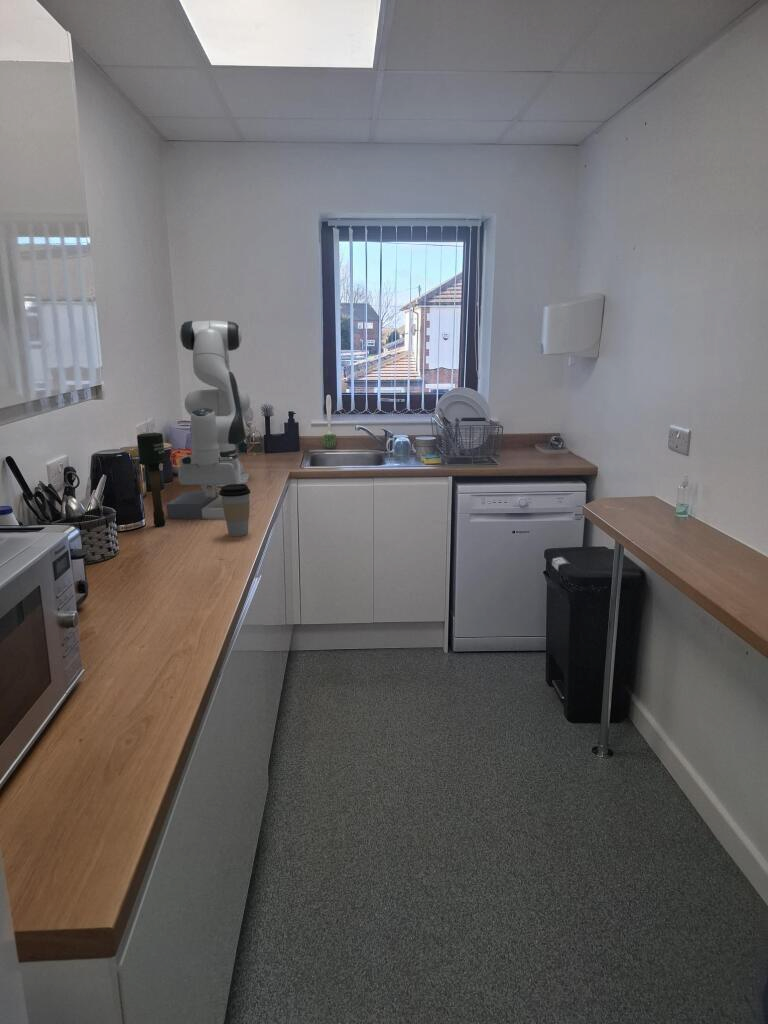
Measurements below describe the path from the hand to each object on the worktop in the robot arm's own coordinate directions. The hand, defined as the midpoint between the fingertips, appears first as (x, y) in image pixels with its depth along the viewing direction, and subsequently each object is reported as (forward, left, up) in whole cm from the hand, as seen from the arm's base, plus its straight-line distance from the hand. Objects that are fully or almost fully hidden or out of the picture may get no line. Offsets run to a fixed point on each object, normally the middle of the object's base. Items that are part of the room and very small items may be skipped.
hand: (210, 497), depth 229 cm
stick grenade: (+14, -13, -6) cm, 20 cm away
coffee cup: (+23, +16, -6) cm, 29 cm away
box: (-4, +4, -6) cm, 8 cm away
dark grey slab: (-4, -8, -6) cm, 11 cm away
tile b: (0, +4, -2) cm, 5 cm away
